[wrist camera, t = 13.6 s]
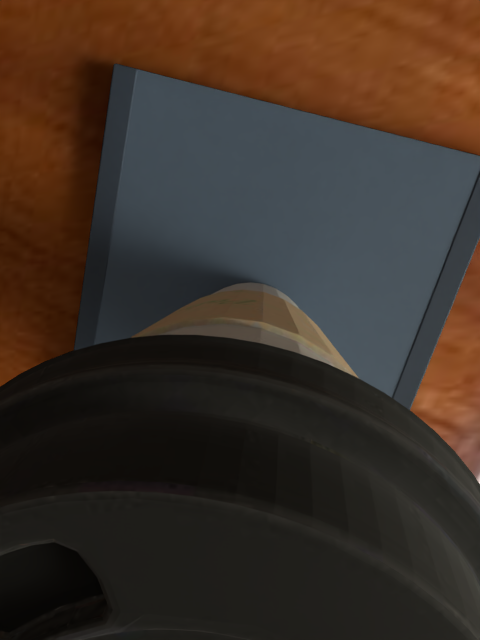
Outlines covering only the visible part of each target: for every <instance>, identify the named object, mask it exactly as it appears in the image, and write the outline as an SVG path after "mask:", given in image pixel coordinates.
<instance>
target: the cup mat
mask: <svg viewBox="0 0 480 640" xmlns="http://www.w3.org/2000/svg"><path fill="white" fill-rule="evenodd" d="M479 238H480V156H478V155H474V154H470V153H466V152H463V151H459V150H455V149H451V148H447V147H443V146H439V145H435V144H431V143H427V142H423V141H419V140H415V139H411V138H407V137H403V136H399V135H395V134H391V133H388V132H384V131H380V130H376V129H372V128H368V127H364V126H360V125H356V124H352V123H348V122H344V121H340V120H336V119H332V118H328V117H324V116H320V115H316V114H312V113H309V112H305V111H301V110H297V109H293V108H289V107H285V106H281V105H277V104H273V103H269V102H265V101H261V100H257V99H253V98H249V97H245V96H241V95H237V94H234V93H230V92H226V91H222V90H218V89H214V88H210V87H206V86H202V85H198V84H194V83H190V82H186V81H182V80H178V79H174V78H170V77H166V76H162V75H159V74H155V73H151V72H147V71H143V70H139V69H135V68H131V67H127V66H123V65H119V64H114V67H113V74H112V81H111V88H110V95H109V102H108V110H107V117H106V124H105V131H104V138H103V145H102V152H101V159H100V167H99V174H98V181H97V188H96V195H95V202H94V209H93V216H92V224H91V231H90V238H89V245H88V252H87V259H86V266H85V273H84V281H83V288H82V295H81V302H80V309H79V316H78V323H77V331H76V338H75V345H74V350H78V349H81V348H85V347H89V346H92V345H96V344H100V343H105V342H110V341H115V340H121V339H126V338H131V337H132V336H134V335H136V334H137V333H139V332H141V331H142V330H144V329H146V328H148V327H149V326H151V325H153V324H154V323H156V322H158V321H160V320H161V319H163V318H165V317H166V316H168V315H170V314H172V313H173V312H175V311H177V310H178V309H180V308H182V307H184V306H186V305H188V304H190V303H192V302H194V301H196V300H198V299H199V298H202V297H205V296H208V295H211V294H213V293H215V292H217V291H219V290H221V289H223V288H225V287H228V286H232V285H235V284H240V283H250V282H251V283H260V284H265V285H268V286H271V287H273V288H276V289H277V290H279V291H280V292H282V293H284V294H285V295H287V296H288V297H289V298H290V299H291V300H292V301H293V302H294V303H295V304H296V305H297V306H298V308H299V309H300V310H302V311H303V312H304V313H305V314H306V315H307V316H308V317H309V318H310V319H311V320H312V321H313V322H314V323H315V324H316V325H317V326H318V327H319V328H320V329H321V331H322V332H323V333H324V334H325V336H326V337H327V338H328V340H329V341H330V342H331V343H332V345H333V346H334V347H335V348H336V350H337V351H338V352H339V354H340V355H341V356H342V357H343V359H344V360H345V361H346V362H347V364H348V365H349V366H350V368H351V369H352V370H353V371H354V373H355V374H356V375H357V376H358V378H359V379H361V380H363V381H364V382H366V383H368V384H370V385H371V386H373V387H375V388H377V389H379V390H380V391H382V392H384V393H386V394H387V395H388V396H390V397H391V398H393V399H394V400H396V401H397V402H399V403H400V404H401V405H403V406H404V407H406V408H407V409H409V410H410V408H411V406H412V404H413V401H414V399H415V396H416V394H417V391H418V389H419V386H420V384H421V381H422V379H423V376H424V374H425V371H426V369H427V366H428V364H429V362H430V359H431V357H432V354H433V352H434V349H435V347H436V344H437V342H438V339H439V337H440V334H441V332H442V329H443V327H444V324H445V322H446V320H447V317H448V315H449V312H450V310H451V307H452V305H453V302H454V300H455V297H456V295H457V292H458V290H459V287H460V285H461V282H462V280H463V278H464V275H465V273H466V270H467V268H468V265H469V263H470V260H471V258H472V255H473V253H474V250H475V248H476V245H477V243H478V240H479Z"/></svg>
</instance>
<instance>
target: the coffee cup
mask: <svg viewBox="0 0 480 640" xmlns="http://www.w3.org/2000/svg"><path fill="white" fill-rule="evenodd" d="M0 640H480V484H479V483H478V481H477V479H476V478H475V476H474V475H473V474H472V472H471V471H470V470H469V469H468V467H467V466H466V465H465V464H464V462H463V461H462V460H461V459H460V457H459V456H458V455H457V454H456V452H455V451H454V450H453V449H452V448H451V447H450V446H449V445H448V444H447V443H446V442H445V441H444V440H443V439H442V438H441V437H440V436H439V435H438V434H437V433H436V432H435V431H434V430H433V429H432V428H430V427H429V426H428V425H427V424H426V423H424V422H423V421H422V420H421V419H420V418H419V417H417V416H416V415H415V414H414V413H413V412H411V411H410V410H409V409H407V408H406V407H404V406H403V405H401V404H400V403H399V402H397V401H396V400H394V399H393V398H391V397H390V396H388V395H387V394H386V393H384V392H382V391H380V390H379V389H377V388H375V387H373V386H371V385H370V384H368V383H366V382H364V381H363V380H361V379H359V378H358V376H357V375H356V374H355V373H354V371H353V370H352V369H351V368H350V366H349V365H348V364H347V362H346V361H345V360H344V359H343V357H342V356H341V355H340V354H339V352H338V351H337V350H336V348H335V347H334V346H333V345H332V343H331V342H330V341H329V340H328V338H327V337H326V336H325V334H324V333H323V332H322V331H321V329H320V328H319V327H318V326H317V325H316V324H315V323H314V322H313V321H312V320H311V319H310V318H309V317H308V316H307V315H306V314H305V313H304V312H303V311H302V310H300V309H299V308H298V306H297V305H296V304H295V303H294V302H293V301H292V300H291V299H290V298H289V297H288V296H287V295H285V294H284V293H282V292H280V291H279V290H277V289H276V288H273V287H271V286H268V285H265V284H260V283H251V282H250V283H240V284H235V285H232V286H228V287H225V288H223V289H221V290H219V291H217V292H215V293H213V294H211V295H208V296H205V297H202V298H199V299H198V300H196V301H194V302H192V303H190V304H188V305H186V306H184V307H182V308H180V309H178V310H177V311H175V312H173V313H172V314H170V315H168V316H166V317H165V318H163V319H161V320H160V321H158V322H156V323H154V324H153V325H151V326H149V327H148V328H146V329H144V330H142V331H141V332H139V333H137V334H136V335H134V336H132V337H131V338H126V339H121V340H115V341H110V342H105V343H100V344H96V345H92V346H89V347H85V348H81V349H78V350H74V351H71V352H68V353H66V354H63V355H60V356H58V357H55V358H53V359H50V360H47V361H45V362H43V363H41V364H39V365H37V366H35V367H33V368H31V369H29V370H27V371H25V372H23V373H21V374H19V375H18V376H16V377H15V378H13V379H12V380H10V381H8V382H7V383H5V384H4V385H2V386H1V387H0Z"/></svg>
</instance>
